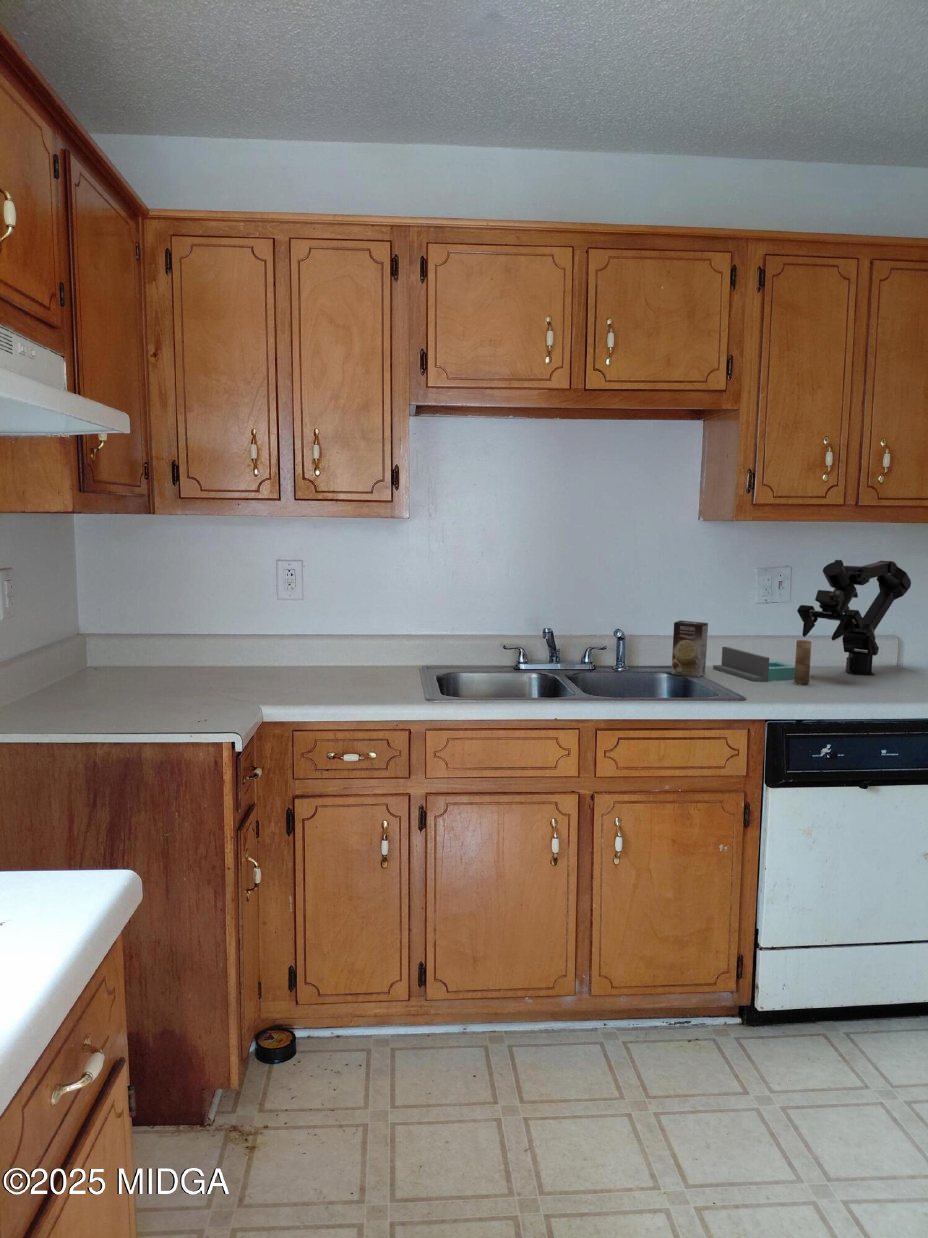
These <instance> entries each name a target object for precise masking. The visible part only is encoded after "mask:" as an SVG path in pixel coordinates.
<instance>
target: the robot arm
mask: <svg viewBox="0 0 928 1238" xmlns="http://www.w3.org/2000/svg"><path fill="white" fill-rule="evenodd" d="M822 572H823V576H824V577H825V579H826V581H827V583H828V585H829V587H830V588H833V591H832V590H825V589H817V592H816V595H815V599H814V601H816V602H817V603H819V605H818V606H819V609H821V610H817V609H815V607H814V605H807V604H800V605H799V606H798V608H797V610H796V612H797V613H798V615H799V617H800V619H801V621H802V622H803V625H802V637H804V638H805V637H806V636H808V634H810V632H811V631H812V630H813V629H814V627H815V626H816V624H815V623H817V621H818V620H819V619H826V620H829V621H835V622H836V621H838V622H839V623H838V625H837V627H836V628H835V630H834V632H833V634H832V636H831V640H832V641H833V642H834V641H836V640H838V639H839V638H841V637H842V647H843V652H844V653H848V654H847V655H848V656H847V657H846V663H845V670H844V671H846V672H847V673H850V674H852V675H875V673H874V672H873V671H872V670H873V656H874V657H875V656H877V655H878V654H879V650H880V649H879V645H878V644H877V642H876V634H875V631H876V629H877V628H878V626H879V624H880V623H881V621H882V620H883V618H884V617H885V615H886V613H887V612H888V610H889V609H890V607H891V606H892V604H893V602H894V601H895V600H897V599H899V598H901V597H904V595H906V593H907V592H908V591H909V589H910V588H911V585H912V581H911V578H910V576H909V574H908V573H907V571H905V570H903V569H902V568H901V567H899V566H898V564H897V563H896V562H895V561H893V560H878V561H877V562H872V563H869V564H865V565H844V561H843V560H842V559H835V560H834V561H833V562H830V563H828V564H827V565H825V566H824V567H823V569H822ZM875 578H876V581H877V583H878V588H879V589H878V590H879V592H878V594H876V595H877V596H875V598H874V599H873V601H872V602H871V605H870V606H869V607H868V609H867V611H866V612H865V614H864V615H863V616H862V614H861V612H860V610H858V609H850V606H849V605H850V604H851V601H852V599H853V598H854V599H855V598H856V599H857V598H859V594H858V591H857V590H858V589H857V587H856V586H865V585H867V584H868V583H869V582H870V580H871V579H875Z"/></svg>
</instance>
